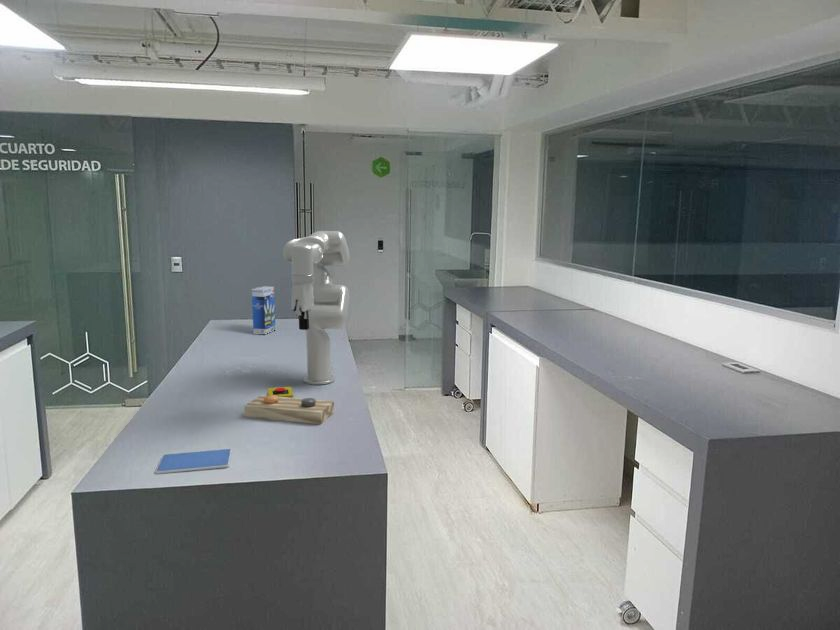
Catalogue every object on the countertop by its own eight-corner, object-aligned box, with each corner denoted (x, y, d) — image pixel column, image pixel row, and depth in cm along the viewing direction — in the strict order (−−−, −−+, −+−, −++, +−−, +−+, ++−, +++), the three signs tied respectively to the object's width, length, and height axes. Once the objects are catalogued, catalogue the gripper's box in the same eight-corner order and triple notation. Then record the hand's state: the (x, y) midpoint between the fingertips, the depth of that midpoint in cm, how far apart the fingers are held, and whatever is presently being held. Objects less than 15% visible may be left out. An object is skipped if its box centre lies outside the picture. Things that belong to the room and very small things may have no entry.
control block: (261, 405, 220) (261, 395, 220) (334, 412, 214) (334, 401, 213) (244, 416, 209) (244, 405, 208) (321, 423, 203) (320, 412, 202)
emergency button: (268, 395, 220) (266, 383, 234) (268, 406, 221) (266, 394, 235) (294, 393, 223) (291, 381, 237) (294, 404, 223) (291, 392, 238)
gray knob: (305, 412, 213) (304, 397, 212) (318, 413, 212) (317, 398, 211) (299, 417, 208) (299, 401, 207) (312, 418, 207) (312, 403, 206)
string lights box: (265, 335, 338) (263, 289, 334) (252, 334, 340) (250, 288, 335) (276, 330, 351) (274, 286, 346) (263, 329, 353) (262, 285, 348)
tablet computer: (154, 476, 164) (154, 471, 164) (163, 457, 176) (162, 453, 176) (229, 469, 168) (229, 465, 168) (232, 452, 181) (232, 447, 180)
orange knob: (268, 409, 216) (267, 394, 215) (280, 410, 215) (280, 395, 214) (262, 413, 211) (261, 398, 210) (274, 415, 210) (274, 399, 209)
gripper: (301, 276, 227) (303, 324, 230) (284, 281, 212) (285, 332, 216) (320, 277, 225) (321, 325, 228) (304, 282, 211) (305, 334, 214)
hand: (304, 329), depth 222 cm, fingers closed
